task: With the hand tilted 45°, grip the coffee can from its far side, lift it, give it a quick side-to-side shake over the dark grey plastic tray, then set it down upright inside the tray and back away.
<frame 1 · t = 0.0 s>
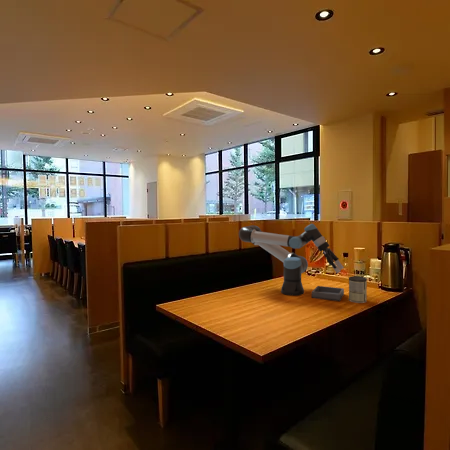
hand: (340, 270, 212), 15 cm above the table, tool tilted 35°, fingers open, 13 cm apart
coffee can: (357, 300, 195), on the table
tray: (328, 296, 206), on the table
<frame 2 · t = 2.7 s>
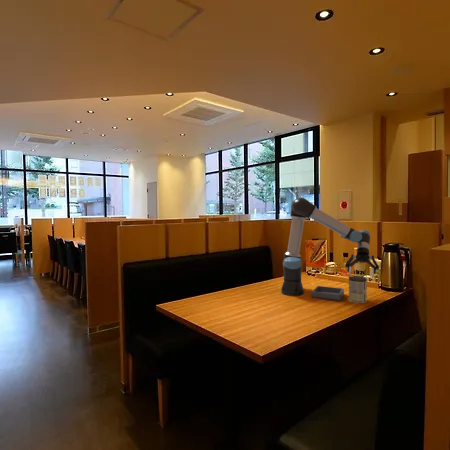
hand: (360, 276, 201), 13 cm above the table, tool tilted 45°, fingers open, 13 cm apart
nothing on the table moved.
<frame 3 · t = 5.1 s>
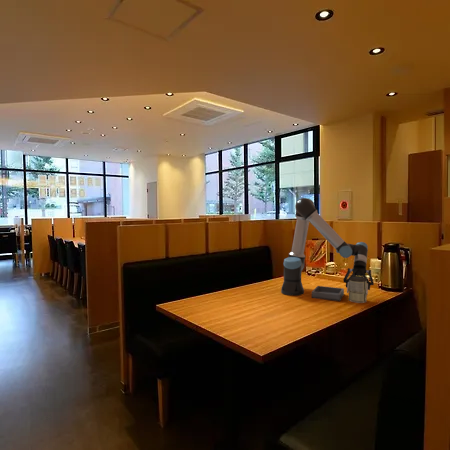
hand: (357, 292, 192), 6 cm above the table, tool tilted 45°, fingers closed on coffee can, 10 cm apart
coffee can: (357, 300, 195), on the table, touching gripper
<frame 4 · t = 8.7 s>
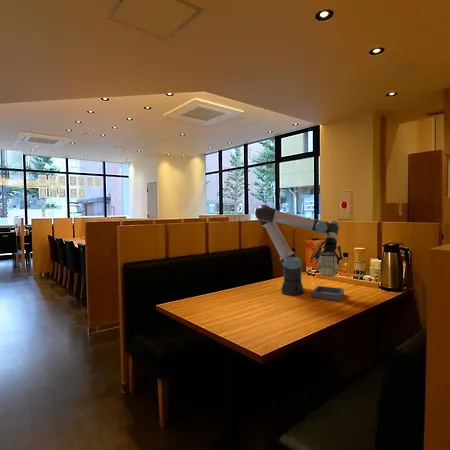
hand: (326, 267, 202), 19 cm above the table, tool tilted 45°, fingers closed on coffee can, 10 cm apart
coffee can: (327, 275, 205), point 14 cm above the table, touching gripper
when the fingers open (8 cm above the table, at t = 12.2 s): coffee can drops 1 cm, resting on tray.
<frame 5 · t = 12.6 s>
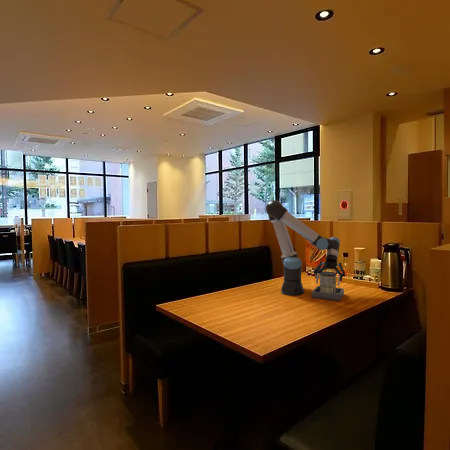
hand: (327, 283, 203), 9 cm above the table, tool tilted 45°, fingers open, 13 cm apart
coffee can: (327, 294, 206), point 1 cm above the table, touching tray
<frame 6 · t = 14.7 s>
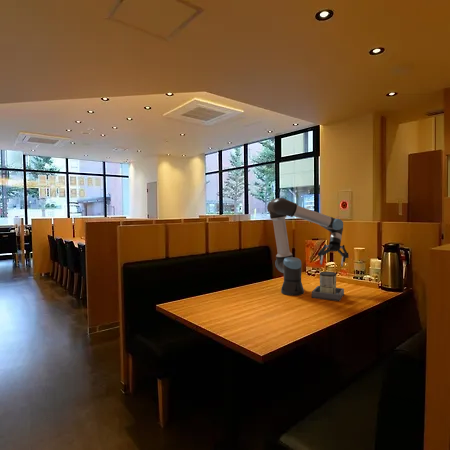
hand: (331, 264, 214), 19 cm above the table, tool tilted 45°, fingers open, 13 cm apart
nothing on the table moved.
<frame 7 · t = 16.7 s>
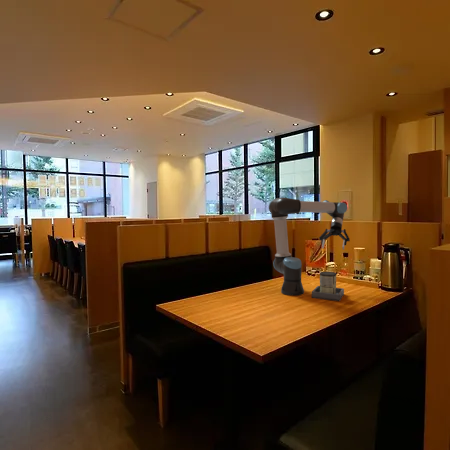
hand: (332, 248, 218), 30 cm above the table, tool tilted 45°, fingers open, 13 cm apart
nothing on the table moved.
at the end: coffee can inside the target area on the tray (0.2 cm from its centre), point 0.8 cm above the tray's base; coffee can tilted 0°; the gripper is holding nothing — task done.
